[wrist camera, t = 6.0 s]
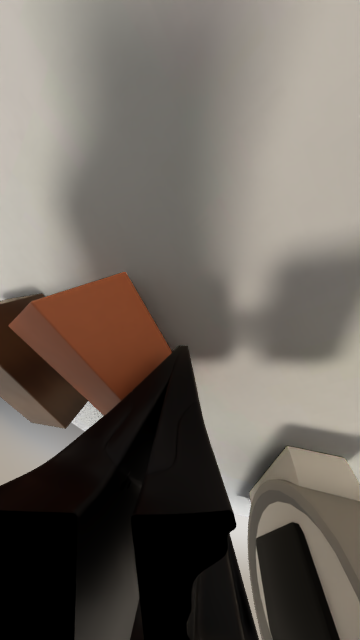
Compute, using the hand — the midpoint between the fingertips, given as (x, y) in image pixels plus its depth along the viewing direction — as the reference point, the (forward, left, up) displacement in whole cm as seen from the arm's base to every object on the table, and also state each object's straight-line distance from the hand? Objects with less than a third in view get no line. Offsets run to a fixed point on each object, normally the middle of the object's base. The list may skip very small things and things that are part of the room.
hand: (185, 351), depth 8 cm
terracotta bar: (-3, -1, -1) cm, 3 cm away
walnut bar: (-12, -1, -2) cm, 12 cm away
